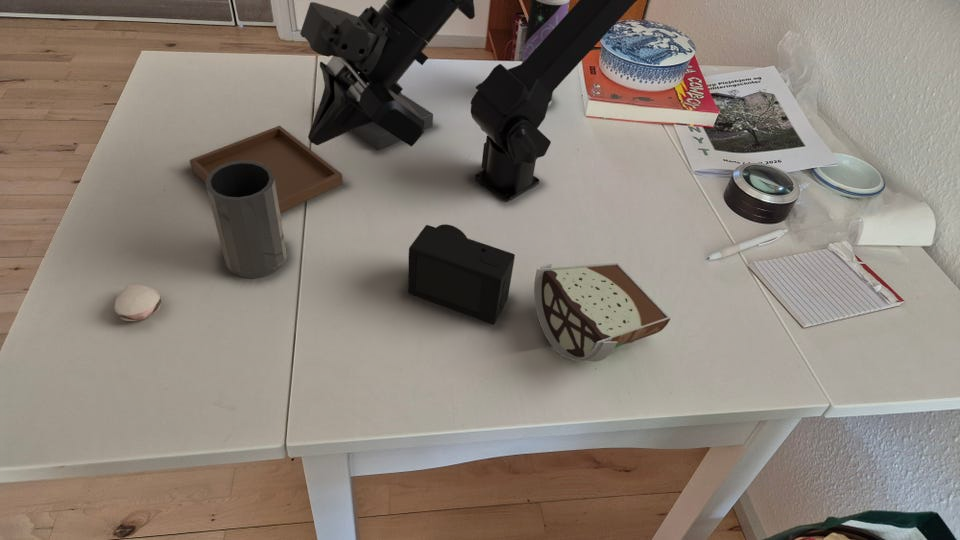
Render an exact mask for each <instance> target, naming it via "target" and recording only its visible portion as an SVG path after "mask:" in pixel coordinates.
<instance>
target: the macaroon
mask: <svg viewBox="0 0 960 540" xmlns="http://www.w3.org/2000/svg"><path fill="white" fill-rule="evenodd" d="M161 304H162V299H161V295H160V293H159V292H158V291H157V290H156V289H154V288H152V287H150V286H148V285H142V284H141V285H140V284H133V283H129V284H126V285H125V286H124V288H123V289H122V290H121V291H120V293H119V294H118V295H117V296H116V298H115V302H114V306H113V308H114V312H115V314H116V315H117V317H118V318H120V319H121V320H123V321H127V322H137V321H140V320H145V319H147V318H148V317H150V316H153V315H154V314H155V313H157V312H158V310H159V309H160V308H161Z"/></svg>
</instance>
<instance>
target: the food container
mask: <svg viewBox="0 0 960 540" xmlns="http://www.w3.org/2000/svg"><path fill="white" fill-rule="evenodd" d="M533 285H534V288H533V289H534V290H533V295H534V304H535V310H536V314H537V319H538V322H539V325H540V328H541V329H542V331H543V334H544V336H545V338H546V339H547V341H548V342H549V344H550V345H551V347H552V348H553V349H554V350H555V351H556V352H557V353H558V354H560V355H561V356H562V357H564V358H566V359H569V360H573V361H576V362H594V363H595V362H599V361H602V360H604V359H606V358H607V357H608V356H610V355H611V354H612V352H613V351H614V349H616V348H619V347H621V346H624V345H627V344H630V343H633V342H636V341H639V340H641V339H645V338H648V337H650V336H652V335H655V334H658V333H660V332H662V331H663V330H664V329H665V328H666V327H667V325H668V324H669V322H670V320H671V319H672V318H671V316H670V315H668V314H667V312H666V311H665V310H663V308H661V306H660V305H659V304H658V303H657V302H656V301H655V300H654V299H653V297H651V296H650V295H649V293H648V292H646V291H645V289H643V287H642V286H641V285H639V283H638V282H636V280H635V279H634V278H633V276H631V275H630V274H629V273H628V271H626V270H625V269H624V268H623V266H622V265H620V264H619V262H612V263H596V264H584V265H569V266H557V267H556V266H555V267H552V264H551V263H549V264H546V265H543V266H540V268H537V269H536V271H535V277H534V283H533Z"/></svg>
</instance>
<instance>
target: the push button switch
mask: <svg viewBox="0 0 960 540" xmlns="http://www.w3.org/2000/svg"><path fill="white" fill-rule="evenodd" d="M398 96H399V97H401V98H402V99H403V100H405V101H406V102H407V103H409V104H410V105H411V106H412V107H413V109H414V110H415V111H416V112H417V113H418V114H419V115H420V117H421V118H422V119H423V120H424V131H426V130H429V129H431V128H433V124H434V113H432V112H431V111H429V110H428V109H426V108H425V107H424V106H421V105H420V104H418V102H416V101H414V100H413V99H410V98H409V97H408V96H406V95H405V94H403V93H402V91H401V92H400V93H399V94H398ZM350 132H352V133H354V134H355V135H357V136H358V137H359V138H361V139H362V140H364V141H365V142H366V143H368V144H369V145H371V146H372V147H373V148H374V149H376V150H377V151H381V150H384V149H385V148H388V147H390V146H392V145H393V146H394V144H397V143H399V142H401V141H402V140H400V139H399V138H397V137H396V136H394V135H393V134H391V133H389V132H388V131H386V130H385V129H383V128H382V127H380V126H379V125H377V124H376V123H375V122H373V123H370V124H367V125H364V126H361V127H359V128H356V129H353V130H351V131H350ZM402 142H403V141H402Z"/></svg>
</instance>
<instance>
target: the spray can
mask: <svg viewBox="0 0 960 540" xmlns="http://www.w3.org/2000/svg"><path fill="white" fill-rule="evenodd" d="M570 2H571V0H530V3H529V9H528V10H529V11H528V18H527V25H526V26H527V27H526V31H525V40H524V45H523V46H524V47H523V48H524V49H523V53H522V61H521V64H522V63H523V62H524V61H525V60H526V59H527V58H528V57H529V56H530V55H531V54H532V52H533V51H534V50H535V49H536V48H537V47H538V46H539V45H540V44H541V42H542V41H543V40H544V39H545V38H546V37H547V36H548V35H549V34H550V32H551V31H552V30H553V29H554V28H555V27H556V26H557V25H558V24H559V22H560V21H561V20H562V19H563V18H564V17H565V16H566V15H567V14H568V12H569V7H570ZM553 95H554V91H553V92H552V94H551V97H550V101H549V105H548V107H550V106H551V104H552V102H553Z"/></svg>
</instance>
